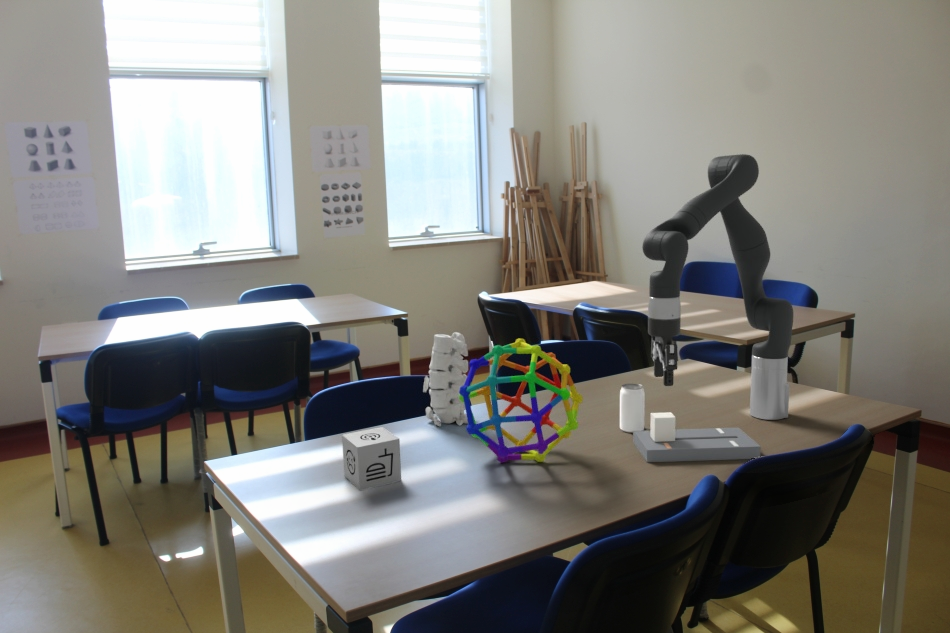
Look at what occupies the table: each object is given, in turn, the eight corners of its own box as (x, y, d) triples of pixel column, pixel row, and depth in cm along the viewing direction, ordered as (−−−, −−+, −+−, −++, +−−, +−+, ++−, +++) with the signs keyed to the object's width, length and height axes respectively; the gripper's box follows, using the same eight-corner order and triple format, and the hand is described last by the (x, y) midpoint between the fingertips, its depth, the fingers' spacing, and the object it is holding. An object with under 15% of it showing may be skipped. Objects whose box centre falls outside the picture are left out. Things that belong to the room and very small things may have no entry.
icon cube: (401, 480, 165) (399, 438, 164) (359, 490, 161) (357, 447, 159) (384, 466, 174) (382, 426, 172) (344, 475, 169) (341, 434, 168)
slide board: (738, 438, 186) (738, 427, 186) (760, 458, 173) (760, 446, 172) (633, 442, 186) (633, 430, 186) (646, 462, 172) (647, 449, 172)
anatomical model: (478, 422, 205) (475, 335, 201) (438, 430, 200) (435, 340, 195) (461, 412, 215) (459, 329, 210) (423, 419, 209) (420, 334, 205)
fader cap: (670, 435, 181) (670, 412, 180) (675, 441, 177) (675, 417, 176) (650, 436, 181) (650, 412, 180) (654, 441, 177) (654, 418, 176)
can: (644, 433, 192) (645, 389, 190) (619, 432, 194) (619, 389, 191) (643, 425, 198) (644, 383, 196) (619, 424, 200) (620, 382, 198)
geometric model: (609, 353, 181) (498, 315, 189) (587, 378, 153) (458, 331, 161) (573, 462, 187) (467, 420, 195) (546, 504, 159) (424, 453, 168)
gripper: (689, 319, 166) (687, 388, 169) (671, 309, 180) (670, 373, 183) (656, 321, 166) (655, 389, 169) (641, 310, 180) (640, 374, 183)
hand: (663, 381), depth 176 cm, fingers open, 8 cm apart
